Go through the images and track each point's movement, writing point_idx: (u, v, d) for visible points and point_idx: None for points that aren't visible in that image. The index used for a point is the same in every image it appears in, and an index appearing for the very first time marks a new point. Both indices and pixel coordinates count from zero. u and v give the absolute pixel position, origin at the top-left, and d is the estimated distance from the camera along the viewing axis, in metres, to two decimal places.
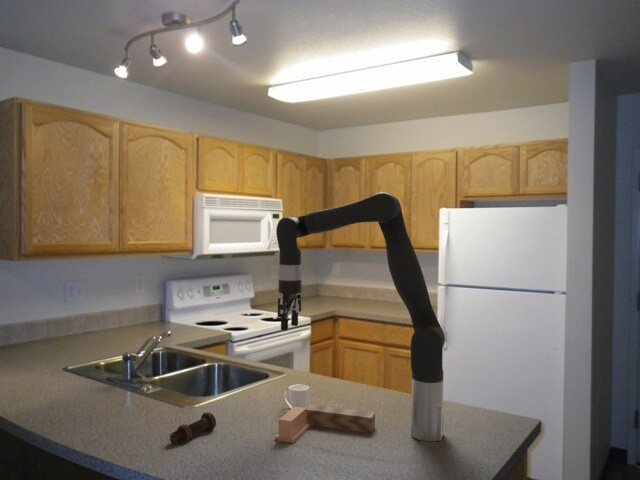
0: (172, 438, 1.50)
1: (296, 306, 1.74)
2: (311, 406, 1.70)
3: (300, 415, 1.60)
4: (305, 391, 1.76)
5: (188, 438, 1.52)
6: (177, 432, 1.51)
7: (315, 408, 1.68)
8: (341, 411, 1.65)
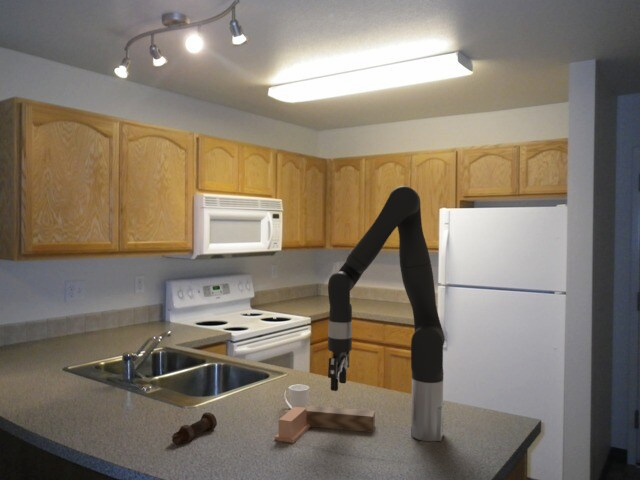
0: (174, 439, 1.50)
1: (345, 363, 1.67)
2: (310, 407, 1.69)
3: (300, 415, 1.60)
4: (305, 391, 1.76)
5: (190, 438, 1.52)
6: (179, 433, 1.50)
7: (314, 409, 1.67)
8: (341, 411, 1.65)
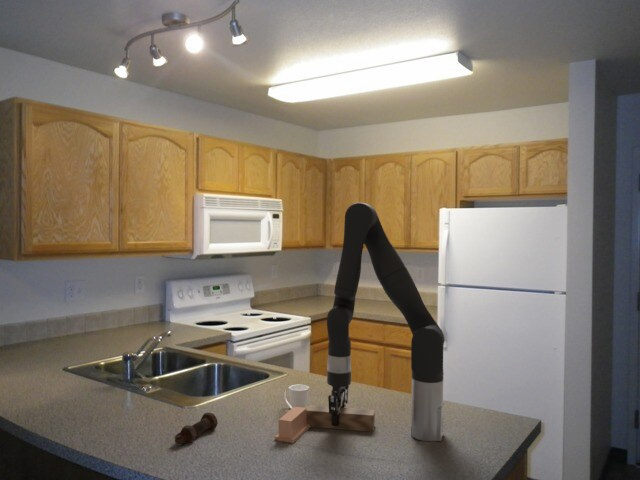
0: (177, 439, 1.49)
1: (344, 398, 1.67)
2: (310, 407, 1.68)
3: (300, 415, 1.60)
4: (305, 391, 1.76)
5: (193, 439, 1.52)
6: (182, 433, 1.50)
7: (314, 408, 1.67)
8: (341, 410, 1.65)
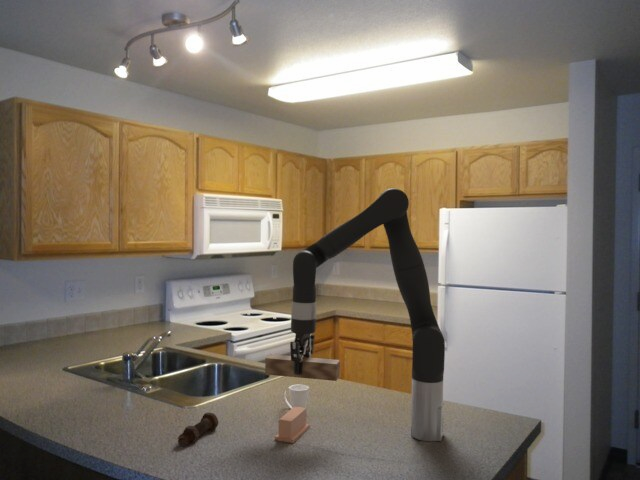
0: (181, 440, 1.49)
1: (309, 347, 1.61)
2: (273, 355, 1.63)
3: (300, 415, 1.60)
4: (305, 391, 1.76)
5: (196, 439, 1.52)
6: (186, 434, 1.50)
7: (278, 357, 1.62)
8: (305, 359, 1.60)
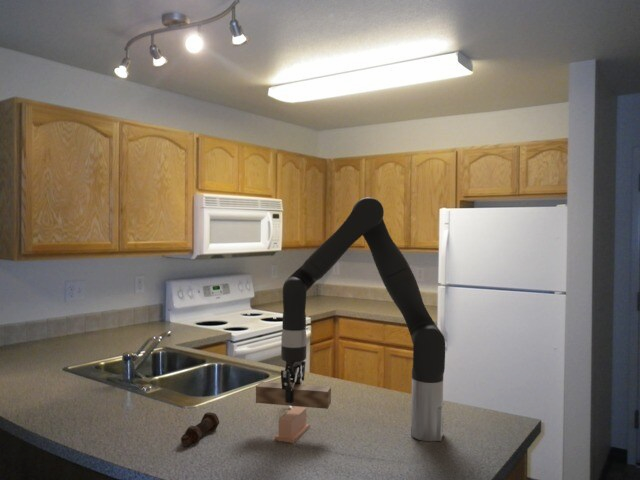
0: (184, 440, 1.49)
1: (299, 374, 1.60)
2: (264, 383, 1.62)
3: (300, 415, 1.60)
4: None
5: (198, 439, 1.52)
6: (189, 434, 1.50)
7: (268, 384, 1.60)
8: (296, 387, 1.58)
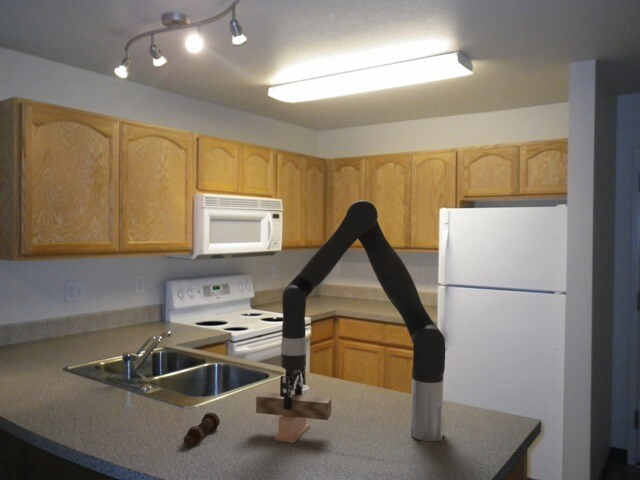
0: (187, 441, 1.48)
1: (300, 381, 1.60)
2: (264, 393, 1.62)
3: None
4: (305, 391, 1.76)
5: (200, 439, 1.52)
6: (191, 434, 1.49)
7: (269, 395, 1.61)
8: (296, 397, 1.58)
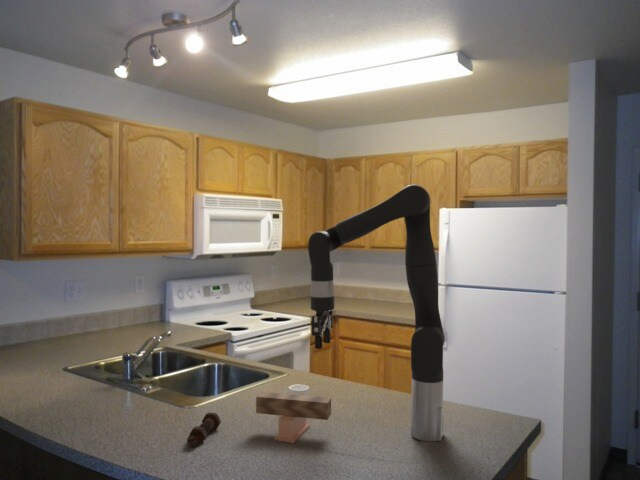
0: (191, 441, 1.48)
1: (329, 323, 1.69)
2: (264, 393, 1.62)
3: None
4: (305, 391, 1.76)
5: (204, 439, 1.52)
6: (195, 434, 1.49)
7: (269, 395, 1.61)
8: (296, 398, 1.58)
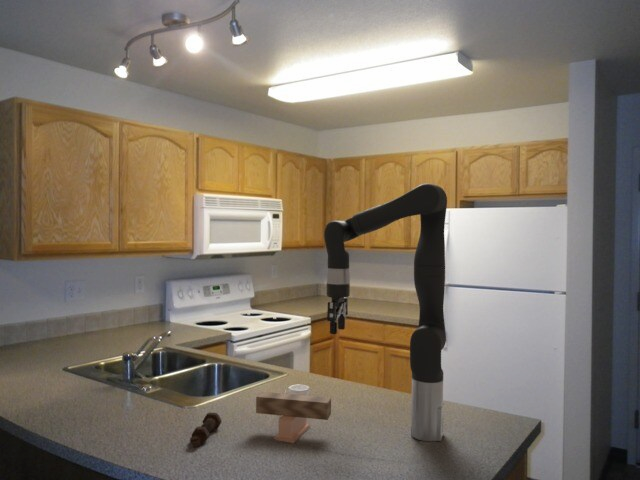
0: (194, 441, 1.48)
1: (344, 310, 1.74)
2: (264, 393, 1.62)
3: None
4: (305, 391, 1.76)
5: (206, 439, 1.52)
6: (198, 434, 1.49)
7: (269, 395, 1.61)
8: (296, 398, 1.58)
